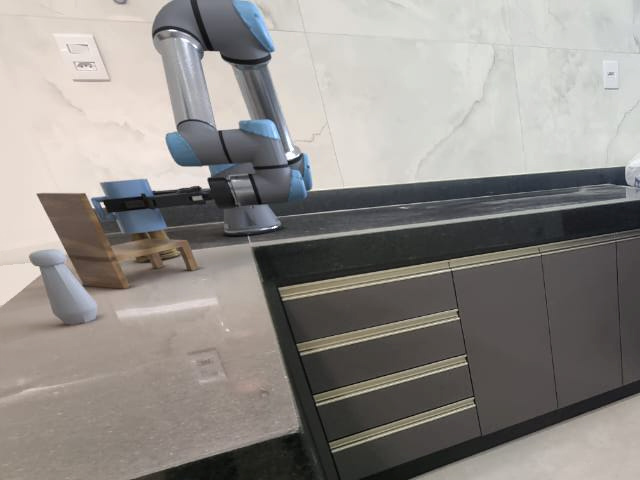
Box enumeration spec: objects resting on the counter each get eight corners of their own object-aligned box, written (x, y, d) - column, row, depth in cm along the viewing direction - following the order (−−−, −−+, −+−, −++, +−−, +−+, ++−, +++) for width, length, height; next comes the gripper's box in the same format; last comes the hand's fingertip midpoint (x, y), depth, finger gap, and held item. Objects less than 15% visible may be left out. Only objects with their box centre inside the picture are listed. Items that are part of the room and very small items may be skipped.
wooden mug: (131, 267, 132) (96, 193, 125) (139, 257, 143) (107, 188, 135) (176, 261, 137) (145, 189, 129) (180, 251, 147) (152, 184, 139)
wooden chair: (160, 266, 133) (123, 183, 124) (199, 268, 129) (163, 183, 120) (83, 285, 119) (35, 193, 110) (124, 288, 115) (78, 193, 106)
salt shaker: (103, 312, 100) (68, 244, 95) (104, 319, 97) (67, 249, 91) (60, 321, 97) (21, 251, 91) (59, 329, 93) (18, 256, 87)
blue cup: (168, 226, 127) (148, 177, 122) (166, 229, 121) (145, 179, 116) (109, 233, 121) (86, 182, 116) (104, 237, 115) (80, 184, 110)
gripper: (239, 212, 123) (109, 228, 111) (236, 203, 138) (122, 215, 126) (227, 178, 119) (92, 190, 107) (225, 172, 135) (107, 182, 123)
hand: (108, 204), depth 117 cm, fingers closed on blue cup, 8 cm apart
